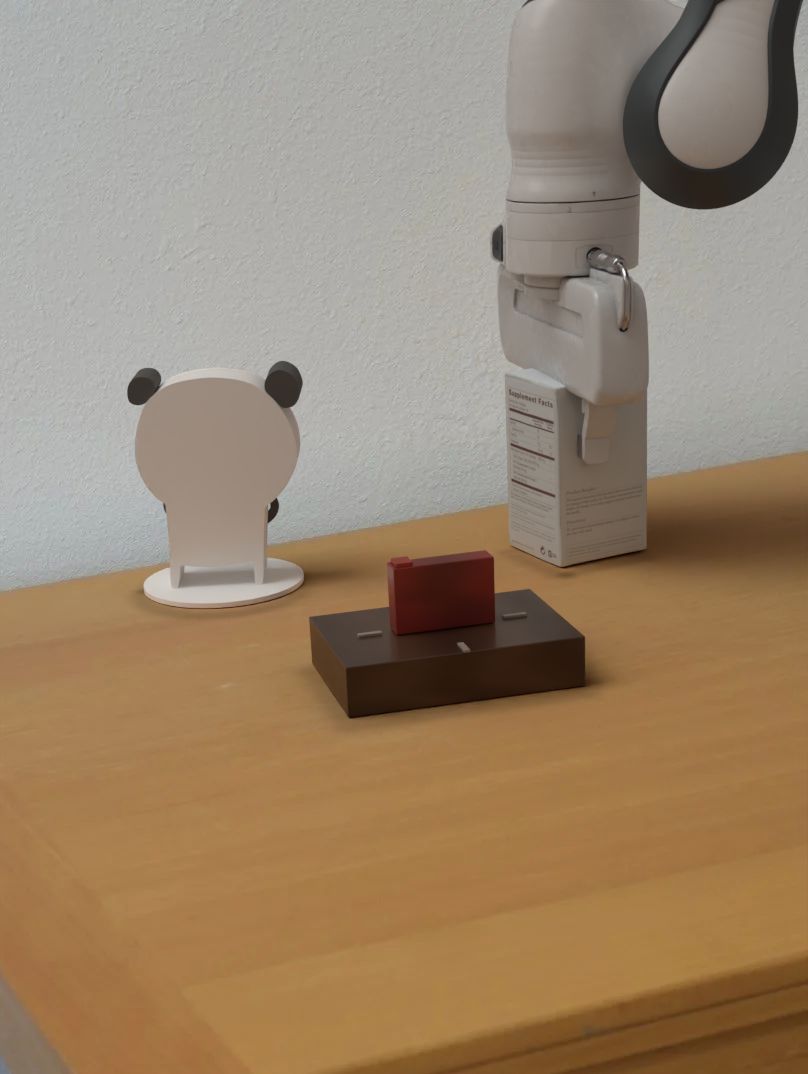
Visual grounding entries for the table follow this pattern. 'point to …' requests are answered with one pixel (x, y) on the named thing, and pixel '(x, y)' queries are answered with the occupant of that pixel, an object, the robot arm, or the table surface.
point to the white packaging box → (571, 476)
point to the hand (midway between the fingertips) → (569, 447)
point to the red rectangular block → (441, 592)
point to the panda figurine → (218, 479)
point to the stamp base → (446, 657)
